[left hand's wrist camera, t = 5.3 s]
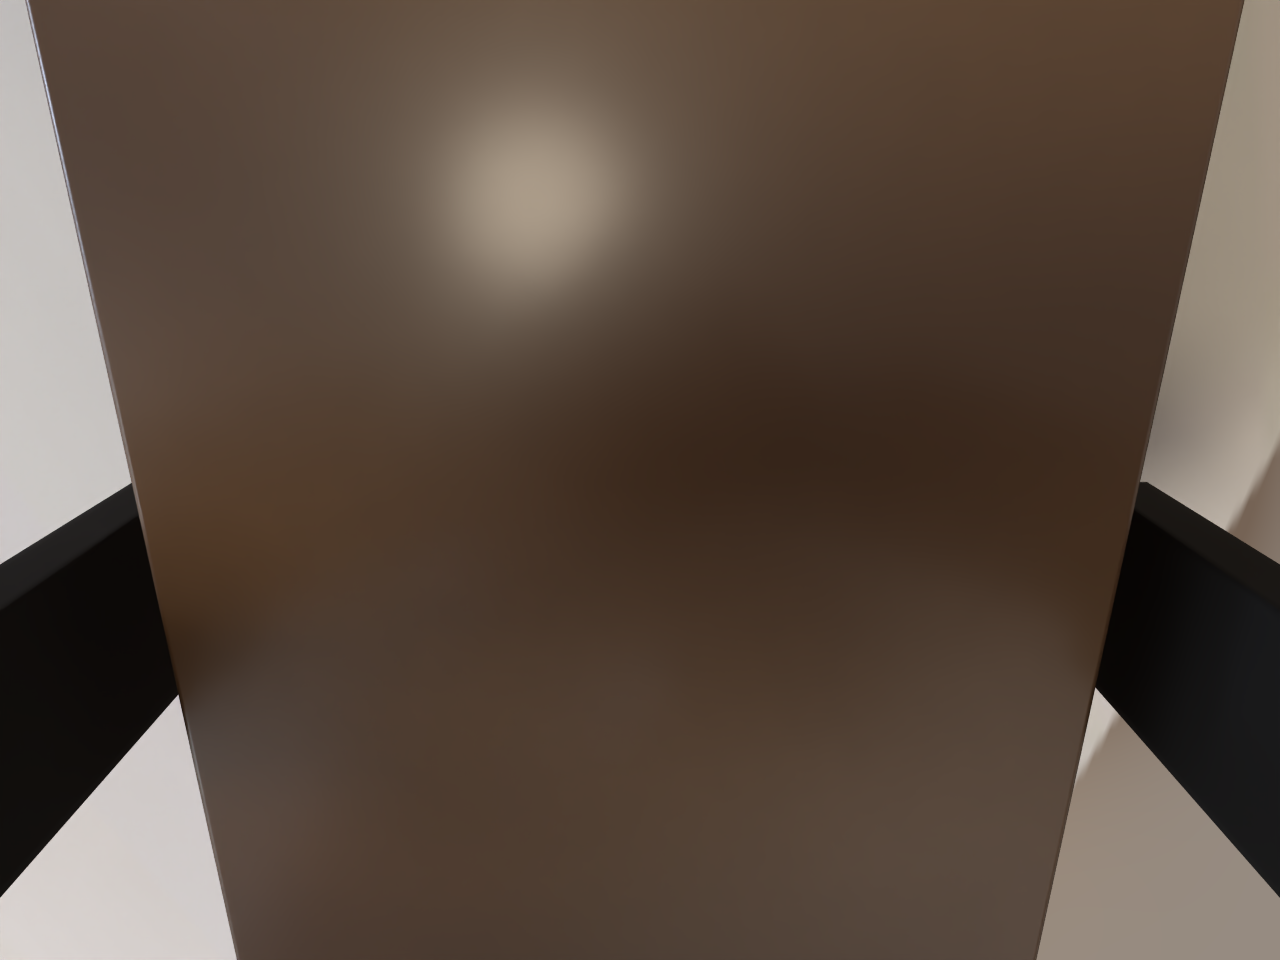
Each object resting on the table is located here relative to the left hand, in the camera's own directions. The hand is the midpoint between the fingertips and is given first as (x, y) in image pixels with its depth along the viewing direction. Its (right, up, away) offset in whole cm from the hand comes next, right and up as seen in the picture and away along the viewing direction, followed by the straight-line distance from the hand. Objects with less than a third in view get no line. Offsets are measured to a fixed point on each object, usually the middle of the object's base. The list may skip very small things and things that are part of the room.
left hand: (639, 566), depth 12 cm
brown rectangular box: (0, +7, +4) cm, 8 cm away
